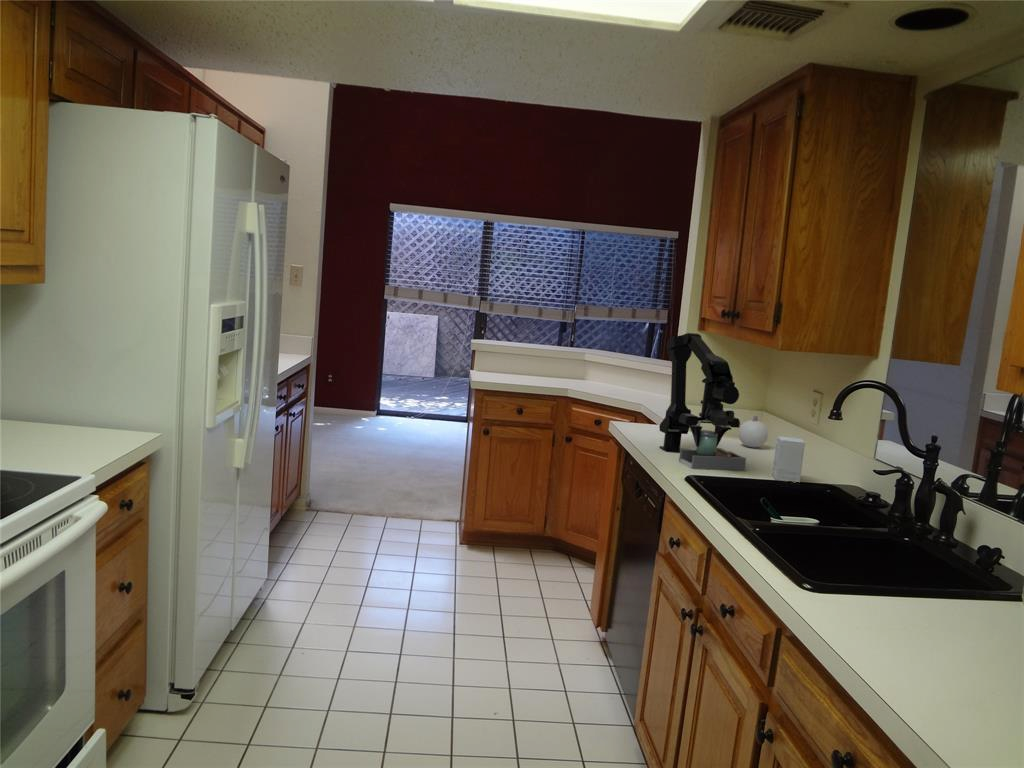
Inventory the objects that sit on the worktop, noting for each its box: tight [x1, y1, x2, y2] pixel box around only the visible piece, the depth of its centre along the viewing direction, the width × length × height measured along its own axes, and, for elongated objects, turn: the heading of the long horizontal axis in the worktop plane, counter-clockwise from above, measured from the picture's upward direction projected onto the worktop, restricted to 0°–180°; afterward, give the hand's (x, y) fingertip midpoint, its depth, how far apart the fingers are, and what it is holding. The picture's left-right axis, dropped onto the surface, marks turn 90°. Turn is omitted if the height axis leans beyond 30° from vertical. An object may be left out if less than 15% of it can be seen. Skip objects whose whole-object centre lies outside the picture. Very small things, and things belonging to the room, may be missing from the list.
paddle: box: [716, 447, 732, 457], centre depth 245 cm, size 7×2×5 cm, turn 13°
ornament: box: [738, 415, 769, 448], centre depth 285 cm, size 10×10×12 cm
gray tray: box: [678, 448, 747, 471], centre depth 245 cm, size 10×18×4 cm, turn 103°
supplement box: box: [771, 435, 806, 483], centre depth 235 cm, size 7×7×13 cm
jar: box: [695, 429, 718, 455], centre depth 243 cm, size 6×6×7 cm
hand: (706, 447), depth 244 cm, fingers closed on jar, 6 cm apart
